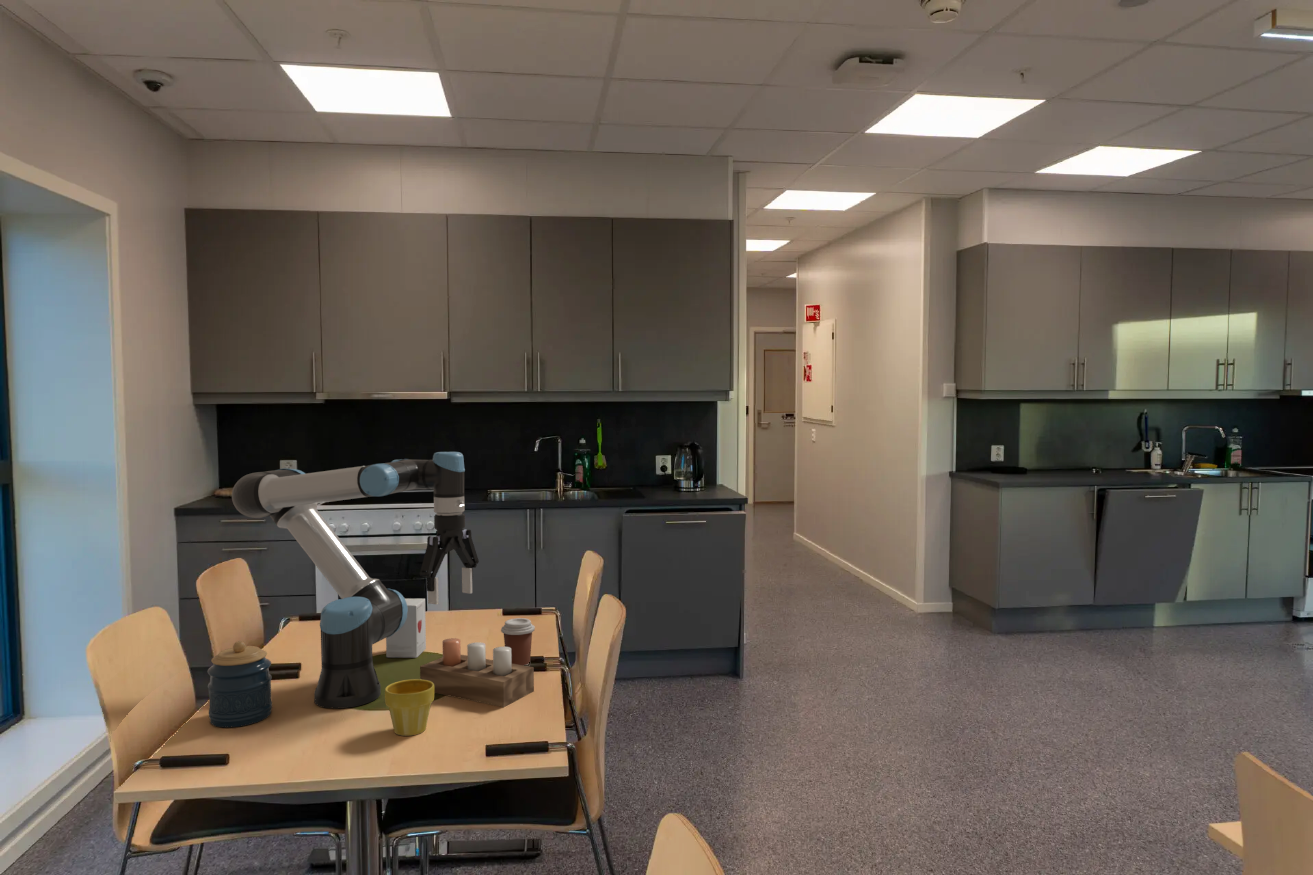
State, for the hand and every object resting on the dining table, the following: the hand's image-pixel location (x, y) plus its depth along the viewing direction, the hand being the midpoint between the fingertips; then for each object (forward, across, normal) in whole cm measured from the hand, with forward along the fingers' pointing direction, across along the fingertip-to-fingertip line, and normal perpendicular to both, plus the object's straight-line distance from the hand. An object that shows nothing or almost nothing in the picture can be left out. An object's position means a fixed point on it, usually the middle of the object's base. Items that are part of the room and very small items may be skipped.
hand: (450, 598), depth 207 cm
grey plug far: (+18, 0, -16) cm, 24 cm away
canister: (+23, -38, +29) cm, 53 cm away
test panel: (+22, 0, -8) cm, 24 cm away
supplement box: (+23, +15, +30) cm, 40 cm away
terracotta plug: (+18, 0, 0) cm, 18 cm away
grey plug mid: (+18, 0, -8) cm, 20 cm away
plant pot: (+23, -26, -11) cm, 36 cm away
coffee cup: (+23, +21, -5) cm, 31 cm away
